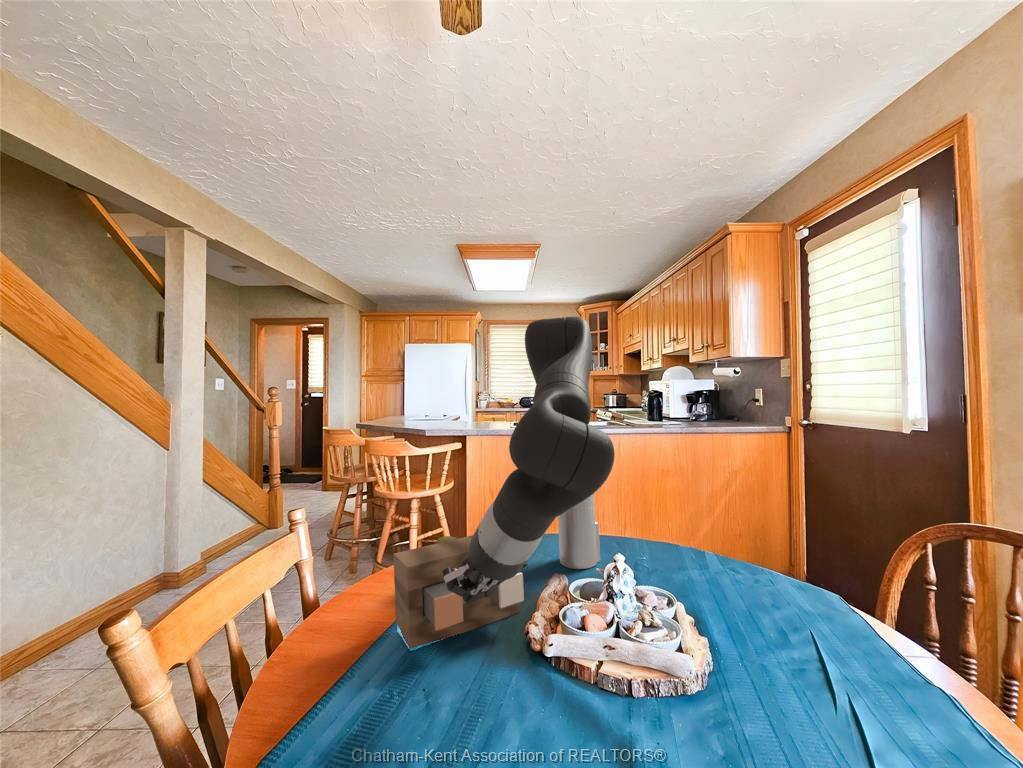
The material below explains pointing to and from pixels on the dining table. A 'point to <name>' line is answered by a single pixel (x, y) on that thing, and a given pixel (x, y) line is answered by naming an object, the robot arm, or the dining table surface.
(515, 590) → the cream button
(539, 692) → the dining table surface
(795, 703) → the dining table surface
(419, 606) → the walnut panel
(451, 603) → the terracotta button
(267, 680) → the dining table surface
